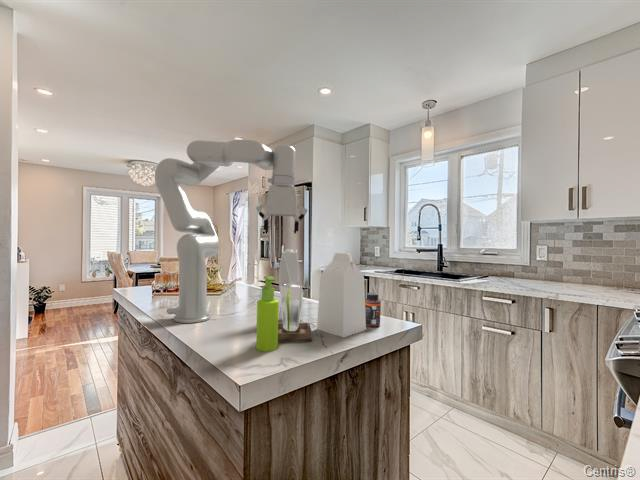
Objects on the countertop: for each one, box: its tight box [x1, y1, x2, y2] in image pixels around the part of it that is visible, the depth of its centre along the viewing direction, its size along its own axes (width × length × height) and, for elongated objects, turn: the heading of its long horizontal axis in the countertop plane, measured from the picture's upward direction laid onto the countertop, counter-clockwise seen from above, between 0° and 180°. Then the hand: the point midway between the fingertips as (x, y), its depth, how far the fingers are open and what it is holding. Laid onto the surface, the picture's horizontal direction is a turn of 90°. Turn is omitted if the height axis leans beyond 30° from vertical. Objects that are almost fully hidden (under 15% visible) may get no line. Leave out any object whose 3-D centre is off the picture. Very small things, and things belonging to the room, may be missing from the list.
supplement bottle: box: [365, 292, 382, 328], centre depth 114 cm, size 6×6×11 cm
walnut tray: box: [278, 322, 313, 343], centre depth 100 cm, size 12×12×2 cm
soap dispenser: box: [255, 275, 280, 352], centre depth 88 cm, size 6×7×20 cm
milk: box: [316, 252, 367, 338], centre depth 108 cm, size 12×12×26 cm
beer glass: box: [279, 283, 303, 333], centre depth 100 cm, size 7×7×15 cm
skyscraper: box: [278, 245, 302, 323], centre depth 118 cm, size 8×8×28 cm
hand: (281, 232), depth 109 cm, fingers open, 9 cm apart
